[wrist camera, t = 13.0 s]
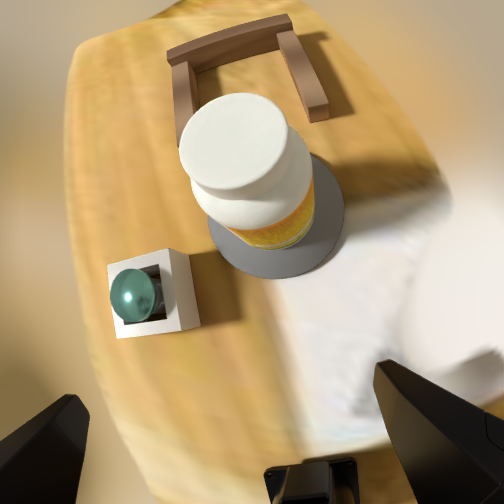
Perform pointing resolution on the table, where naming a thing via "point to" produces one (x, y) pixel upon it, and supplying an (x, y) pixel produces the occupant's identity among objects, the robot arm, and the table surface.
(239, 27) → the housing rails
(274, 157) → the supplement bottle
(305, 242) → the rubber pad
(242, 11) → the table surface
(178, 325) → the plunger block
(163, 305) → the plunger
